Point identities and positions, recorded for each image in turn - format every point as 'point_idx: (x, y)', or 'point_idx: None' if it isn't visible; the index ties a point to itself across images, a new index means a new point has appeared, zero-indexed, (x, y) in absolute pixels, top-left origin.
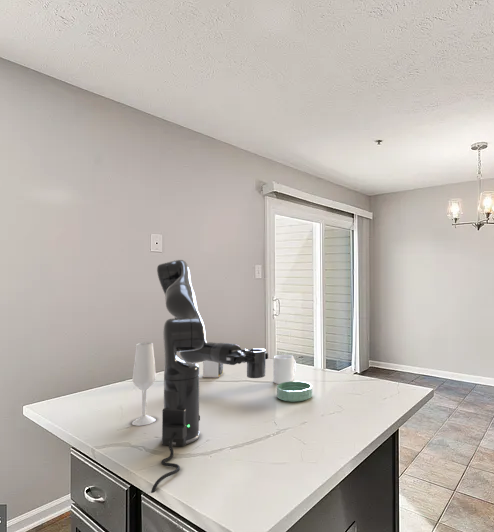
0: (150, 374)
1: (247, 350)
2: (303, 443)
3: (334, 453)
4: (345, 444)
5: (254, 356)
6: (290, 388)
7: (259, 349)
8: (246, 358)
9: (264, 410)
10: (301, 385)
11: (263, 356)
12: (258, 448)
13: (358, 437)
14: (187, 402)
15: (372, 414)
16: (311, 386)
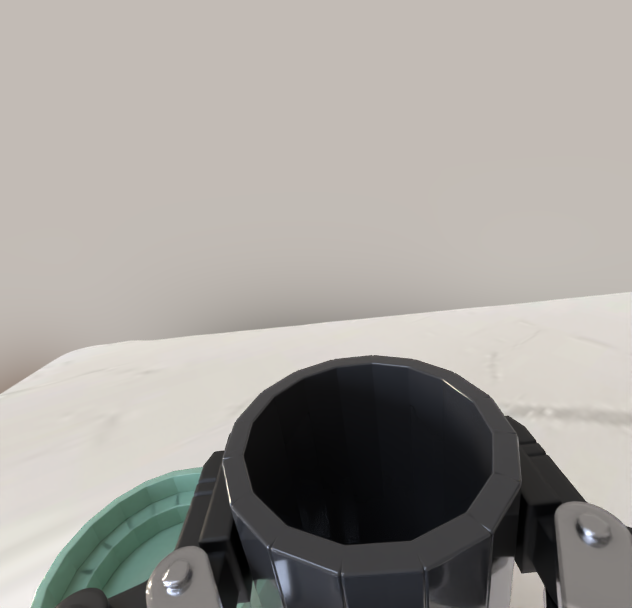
0: None
1: (488, 513)
2: (496, 355)
3: (471, 320)
4: (429, 325)
5: None
6: None
7: (246, 468)
8: (567, 490)
9: None
10: (61, 593)
11: (353, 405)
12: (623, 389)
13: (389, 326)
14: None
15: (269, 350)
16: (154, 479)
